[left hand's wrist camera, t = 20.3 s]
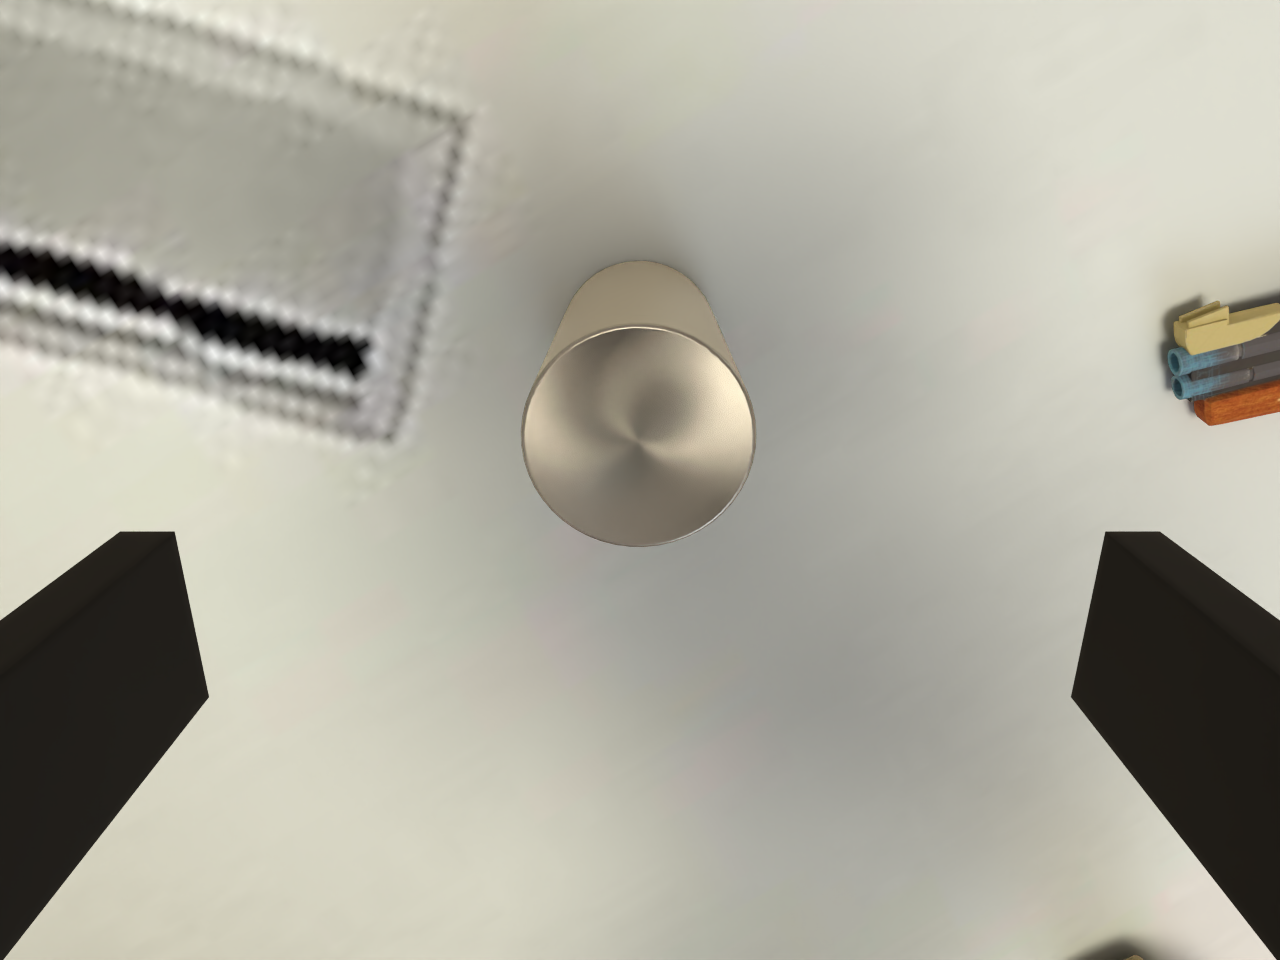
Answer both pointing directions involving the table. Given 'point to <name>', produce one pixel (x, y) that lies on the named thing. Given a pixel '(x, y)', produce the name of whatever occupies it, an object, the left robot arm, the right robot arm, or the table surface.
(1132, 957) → the sculpture
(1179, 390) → the toy gun
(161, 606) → the left robot arm
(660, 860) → the table surface
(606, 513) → the tin
